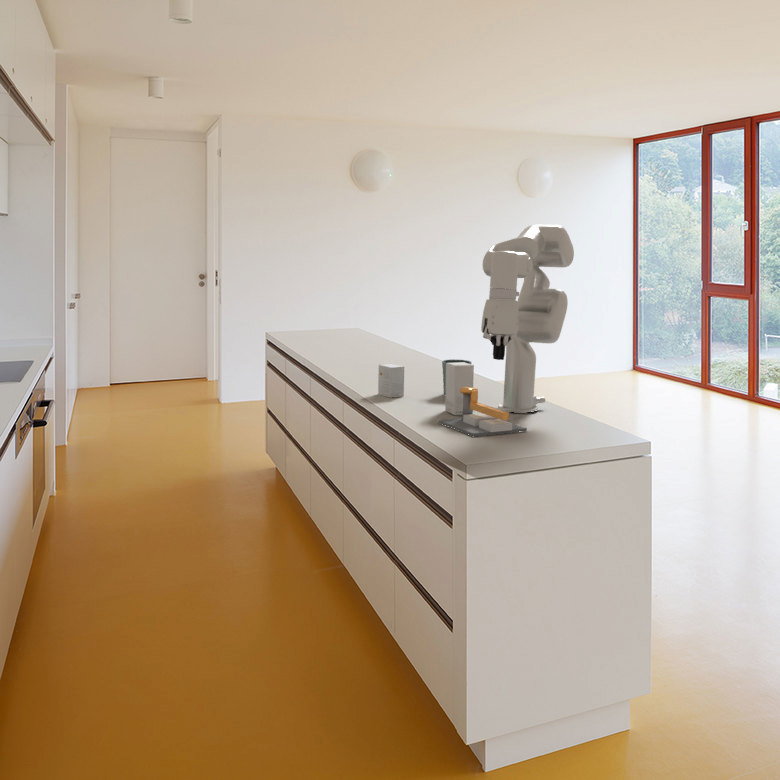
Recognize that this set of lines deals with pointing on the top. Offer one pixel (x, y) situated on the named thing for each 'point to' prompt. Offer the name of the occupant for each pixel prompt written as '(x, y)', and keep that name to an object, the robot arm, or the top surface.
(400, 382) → the small box
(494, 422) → the sled board
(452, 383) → the skincare box
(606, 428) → the top surface
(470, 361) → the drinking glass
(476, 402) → the orange crank handle
